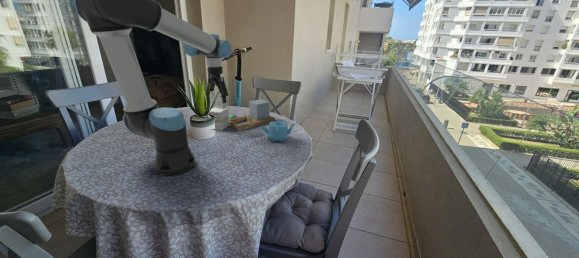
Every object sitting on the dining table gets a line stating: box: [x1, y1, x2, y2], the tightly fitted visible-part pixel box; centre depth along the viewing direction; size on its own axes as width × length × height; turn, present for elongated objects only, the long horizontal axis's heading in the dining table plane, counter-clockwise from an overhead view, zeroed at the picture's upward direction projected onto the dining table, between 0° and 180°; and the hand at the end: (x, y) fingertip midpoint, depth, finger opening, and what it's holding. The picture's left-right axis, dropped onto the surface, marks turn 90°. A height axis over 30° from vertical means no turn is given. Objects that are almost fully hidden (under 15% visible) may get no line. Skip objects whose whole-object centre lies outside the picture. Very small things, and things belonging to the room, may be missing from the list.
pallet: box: [229, 114, 276, 132], centre depth 144 cm, size 14×25×4 cm, turn 132°
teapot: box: [260, 120, 296, 143], centre depth 124 cm, size 18×14×10 cm
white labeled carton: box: [209, 106, 230, 131], centre depth 135 cm, size 9×8×12 cm
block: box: [248, 99, 270, 121], centre depth 146 cm, size 8×9×12 cm
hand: (218, 105), depth 132 cm, fingers open, 13 cm apart
